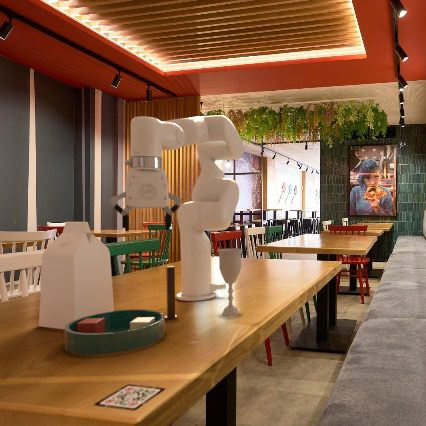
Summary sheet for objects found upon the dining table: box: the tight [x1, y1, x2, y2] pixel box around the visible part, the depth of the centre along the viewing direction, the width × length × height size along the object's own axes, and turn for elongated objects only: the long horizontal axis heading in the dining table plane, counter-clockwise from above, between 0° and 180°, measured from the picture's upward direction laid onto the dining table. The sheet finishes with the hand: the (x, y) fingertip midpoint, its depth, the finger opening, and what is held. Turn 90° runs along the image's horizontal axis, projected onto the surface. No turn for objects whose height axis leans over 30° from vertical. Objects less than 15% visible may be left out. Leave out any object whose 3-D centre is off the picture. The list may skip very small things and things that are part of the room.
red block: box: [77, 318, 105, 333], centre depth 88 cm, size 4×4×4 cm
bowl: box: [63, 308, 166, 355], centre depth 88 cm, size 20×20×4 cm
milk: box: [38, 221, 115, 330], centre depth 101 cm, size 12×12×26 cm
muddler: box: [164, 265, 178, 321], centre depth 104 cm, size 3×3×14 cm
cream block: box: [130, 317, 155, 330], centre depth 88 cm, size 4×4×4 cm
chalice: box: [217, 248, 244, 317], centre depth 108 cm, size 7×7×18 cm
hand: (147, 230), depth 104 cm, fingers open, 9 cm apart
